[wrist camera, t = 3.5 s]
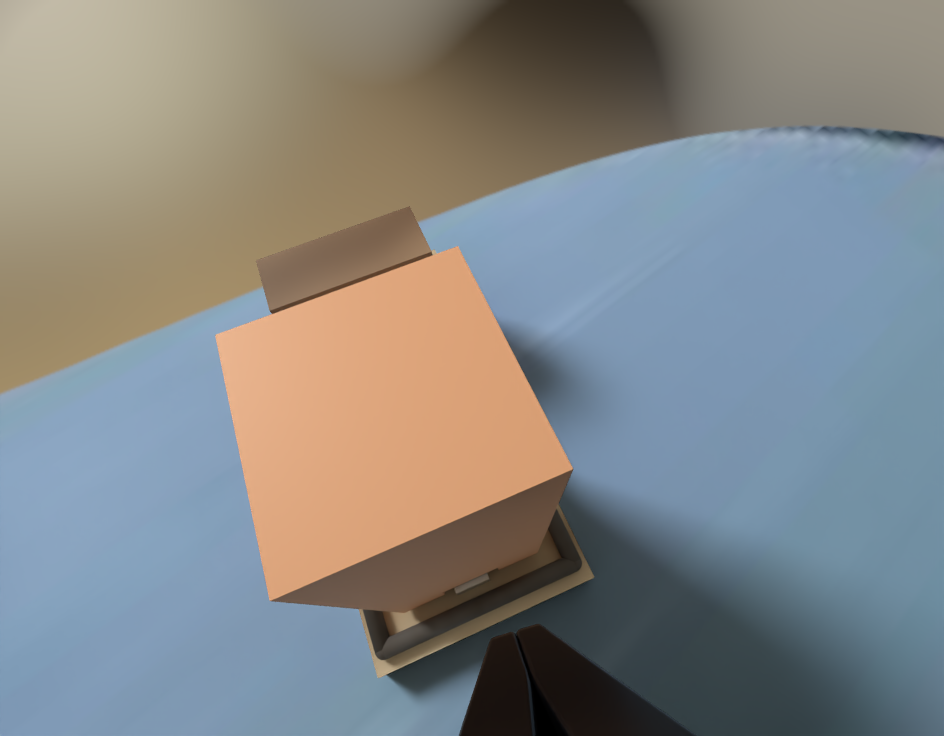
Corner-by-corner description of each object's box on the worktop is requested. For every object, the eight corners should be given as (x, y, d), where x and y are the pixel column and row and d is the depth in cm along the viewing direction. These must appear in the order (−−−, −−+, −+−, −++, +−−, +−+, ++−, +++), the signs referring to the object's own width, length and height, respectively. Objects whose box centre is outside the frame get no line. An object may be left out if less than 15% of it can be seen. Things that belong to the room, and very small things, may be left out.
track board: (589, 580, 19) (597, 576, 17) (385, 674, 18) (373, 680, 16) (437, 264, 26) (432, 241, 24) (285, 321, 25) (269, 300, 23)
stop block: (446, 324, 23) (431, 251, 18) (318, 373, 22) (269, 310, 18) (427, 284, 24) (409, 206, 19) (304, 330, 23) (255, 260, 19)
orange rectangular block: (537, 552, 18) (573, 469, 8) (404, 613, 17) (270, 600, 8) (482, 429, 20) (458, 245, 10) (362, 479, 20) (215, 334, 10)
